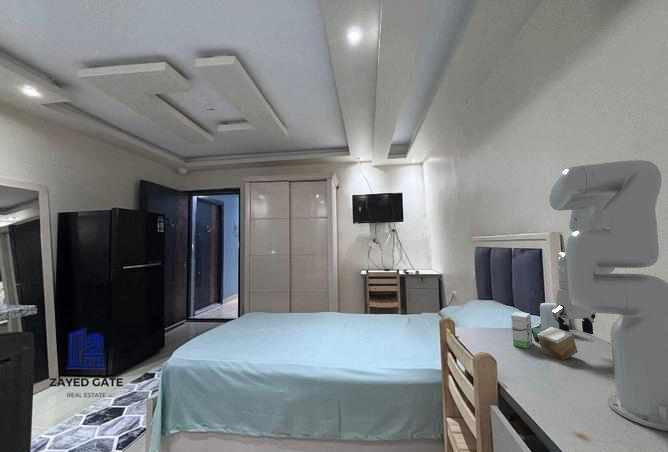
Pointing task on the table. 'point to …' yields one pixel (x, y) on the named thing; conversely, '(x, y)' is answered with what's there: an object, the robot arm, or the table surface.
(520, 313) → the ink box
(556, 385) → the table surface
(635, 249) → the robot arm
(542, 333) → the block
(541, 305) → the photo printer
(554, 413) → the table surface
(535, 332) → the disk drive
